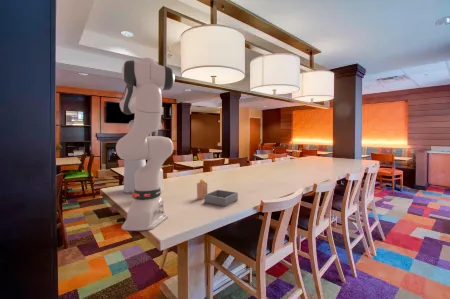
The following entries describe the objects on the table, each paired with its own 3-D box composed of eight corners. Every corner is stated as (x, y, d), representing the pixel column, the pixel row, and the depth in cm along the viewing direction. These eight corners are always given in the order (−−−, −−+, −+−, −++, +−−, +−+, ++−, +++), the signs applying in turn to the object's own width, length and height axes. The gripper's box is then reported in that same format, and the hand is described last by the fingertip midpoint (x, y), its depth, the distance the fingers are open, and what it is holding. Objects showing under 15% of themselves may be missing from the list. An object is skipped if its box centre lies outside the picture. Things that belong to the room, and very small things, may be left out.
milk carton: (148, 192, 157) (147, 165, 156) (155, 190, 164) (154, 163, 163) (156, 193, 154) (155, 165, 153) (163, 191, 161) (162, 164, 159)
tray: (225, 206, 126) (225, 198, 126) (204, 202, 134) (204, 194, 133) (237, 200, 138) (237, 192, 138) (217, 196, 146) (217, 189, 145)
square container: (197, 198, 143) (196, 183, 142) (201, 196, 146) (201, 181, 146) (203, 199, 140) (202, 184, 140) (207, 197, 144) (207, 182, 143)
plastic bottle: (149, 187, 173) (148, 150, 171) (145, 192, 158) (143, 152, 156) (128, 188, 171) (126, 150, 169) (122, 193, 156) (120, 152, 154)
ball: (204, 184, 141) (204, 179, 141) (199, 184, 141) (199, 179, 141) (204, 183, 144) (204, 178, 144) (200, 183, 144) (199, 178, 144)
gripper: (130, 120, 138) (136, 142, 139) (160, 114, 151) (165, 135, 153) (126, 121, 142) (132, 143, 144) (156, 116, 156) (161, 136, 158)
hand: (149, 139), depth 149 cm, fingers open, 8 cm apart
